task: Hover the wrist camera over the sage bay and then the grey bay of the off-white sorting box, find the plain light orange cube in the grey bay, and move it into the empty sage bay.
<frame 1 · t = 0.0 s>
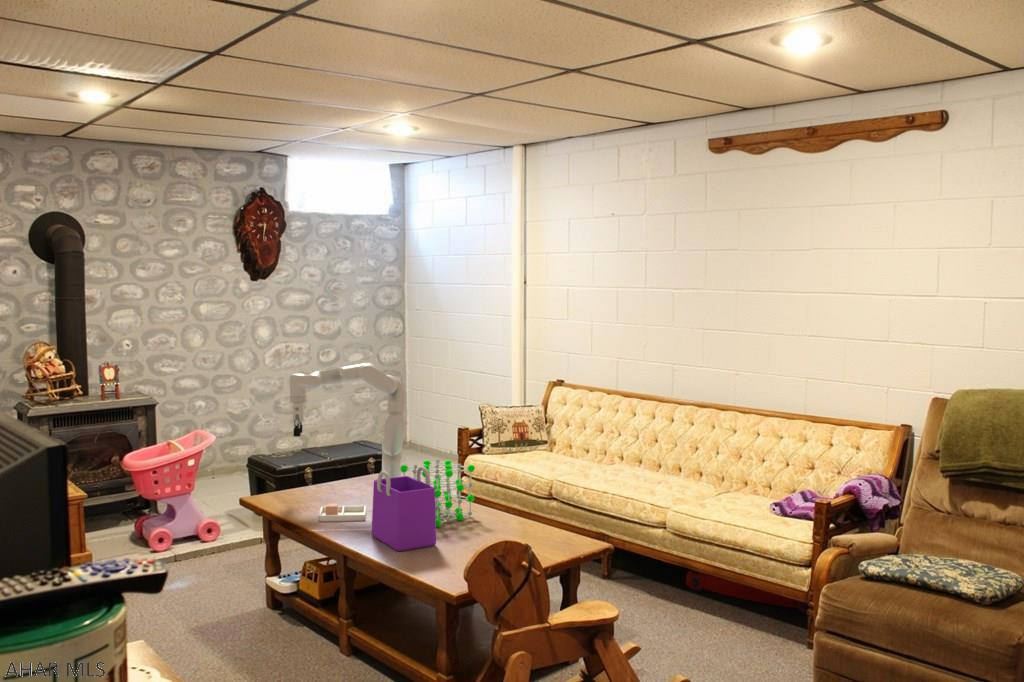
hand: (298, 434, 417), 31 cm above the table, fingers open, 9 cm apart
sorting box: (342, 517, 387), on the table
shopping bag: (403, 541, 353), on the table
molecular structure model: (437, 518, 389), on the table
plain light orange cube: (331, 516, 386), point 1 cm above the table, touching sorting box
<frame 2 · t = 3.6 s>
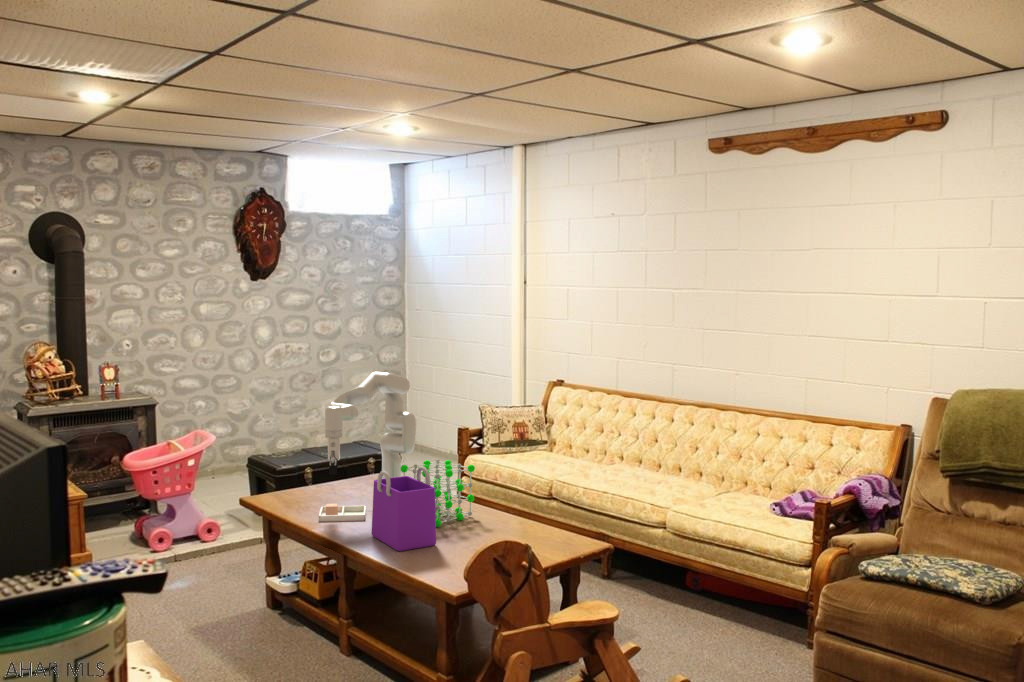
hand: (333, 471, 385), 21 cm above the table, fingers open, 9 cm apart
nothing on the table moved.
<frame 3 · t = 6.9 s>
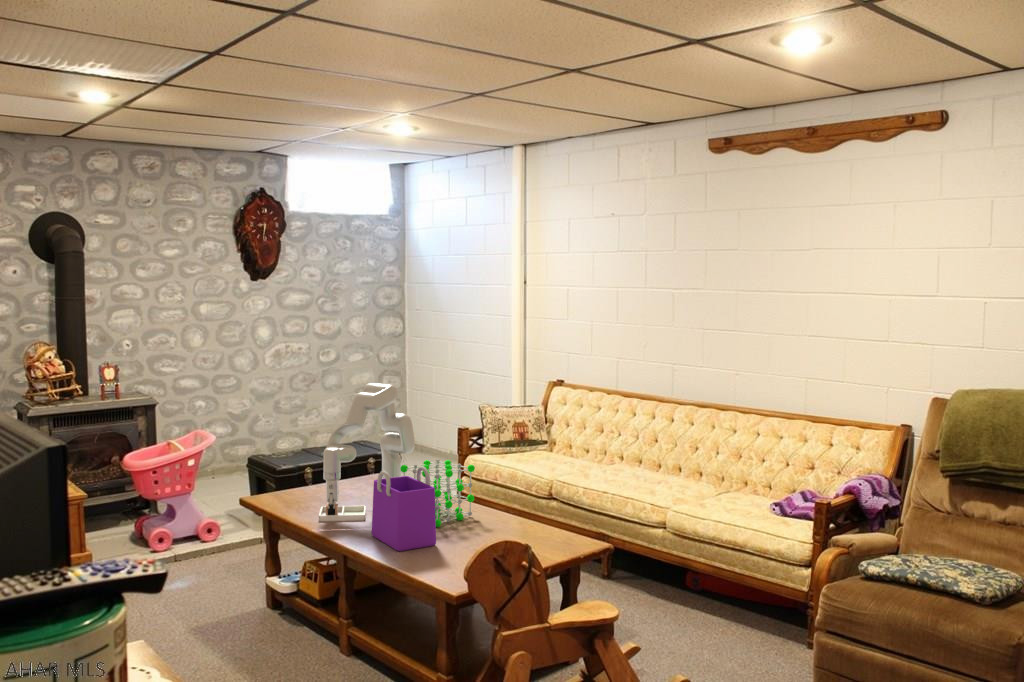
hand: (331, 515, 386), 1 cm above the table, fingers closed on plain light orange cube, 4 cm apart
plain light orange cube: (331, 516, 386), point 1 cm above the table, touching gripper, sorting box
everything else where it was.
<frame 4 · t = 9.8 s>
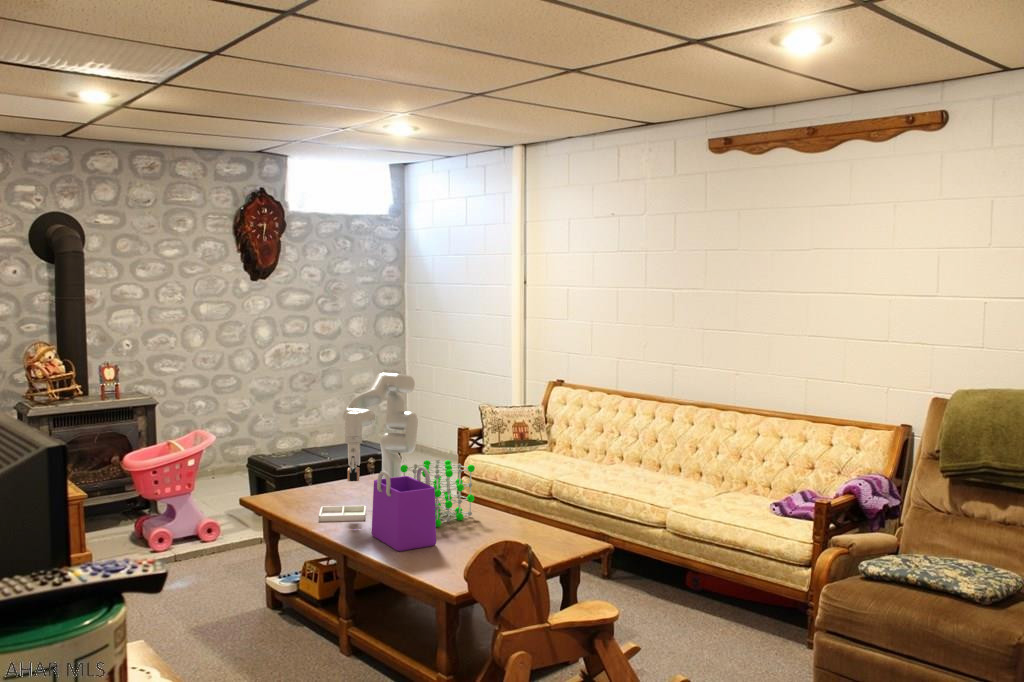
hand: (353, 479, 387), 17 cm above the table, fingers closed on plain light orange cube, 4 cm apart
plain light orange cube: (353, 480, 387), point 17 cm above the table, touching gripper
everything else where it was.
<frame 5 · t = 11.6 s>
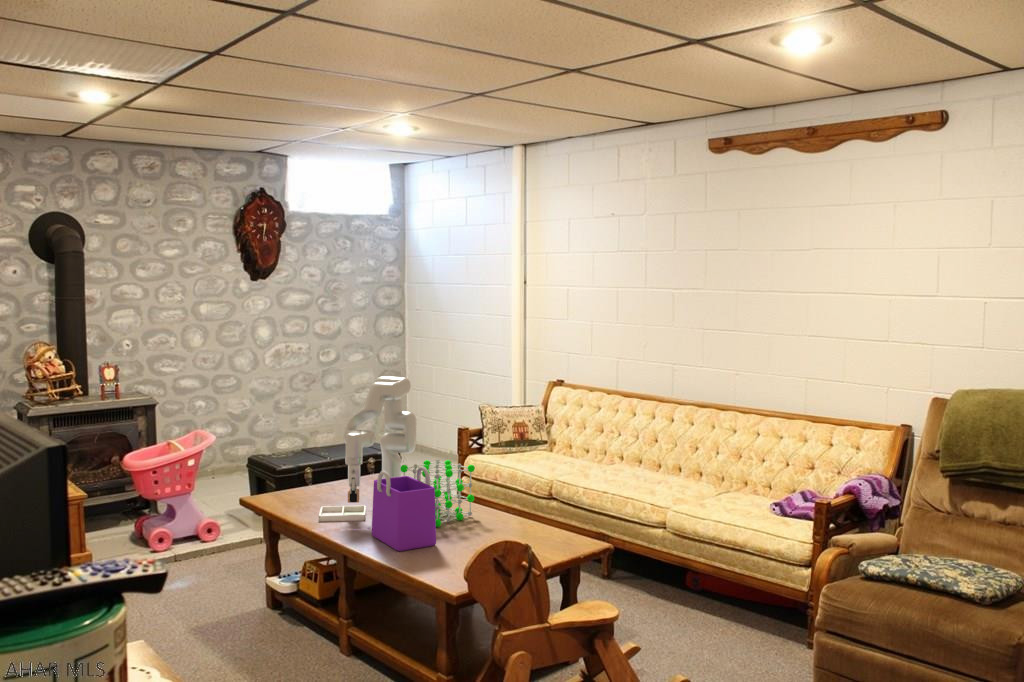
hand: (353, 500, 387), 8 cm above the table, fingers closed on plain light orange cube, 4 cm apart
plain light orange cube: (353, 501, 387), point 7 cm above the table, touching gripper
everything else where it was.
when the fingers open (3 cm above the table, at t = 13.0 s): plain light orange cube drops 2 cm, resting on sorting box.
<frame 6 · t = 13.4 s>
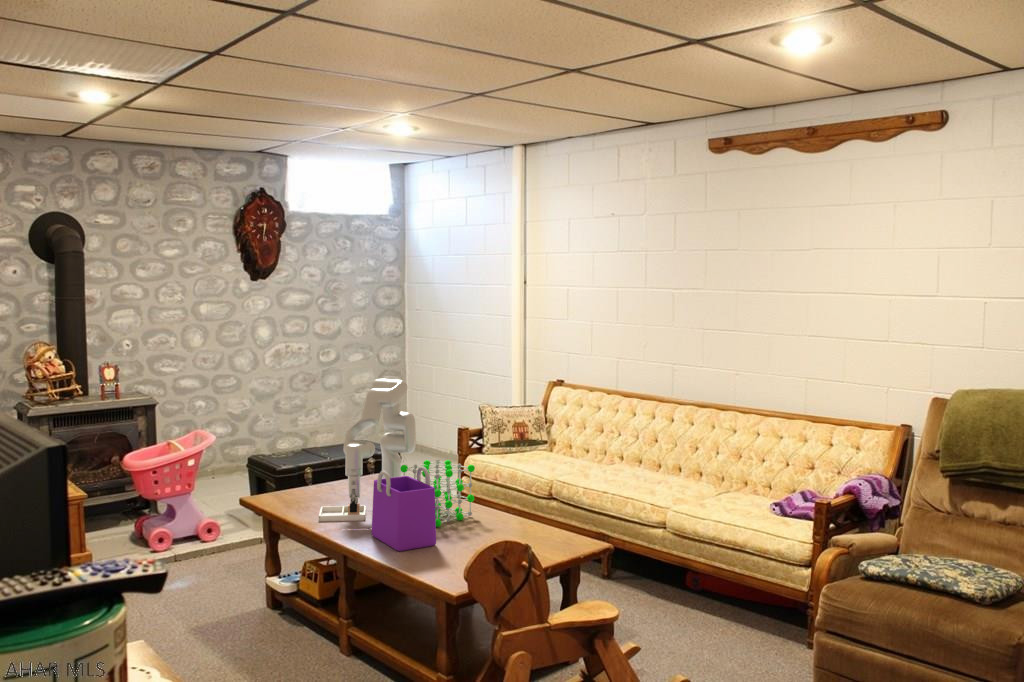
hand: (353, 509, 387), 3 cm above the table, fingers open, 9 cm apart
plain light orange cube: (353, 515, 388), point 1 cm above the table, touching sorting box
everything else where it was.
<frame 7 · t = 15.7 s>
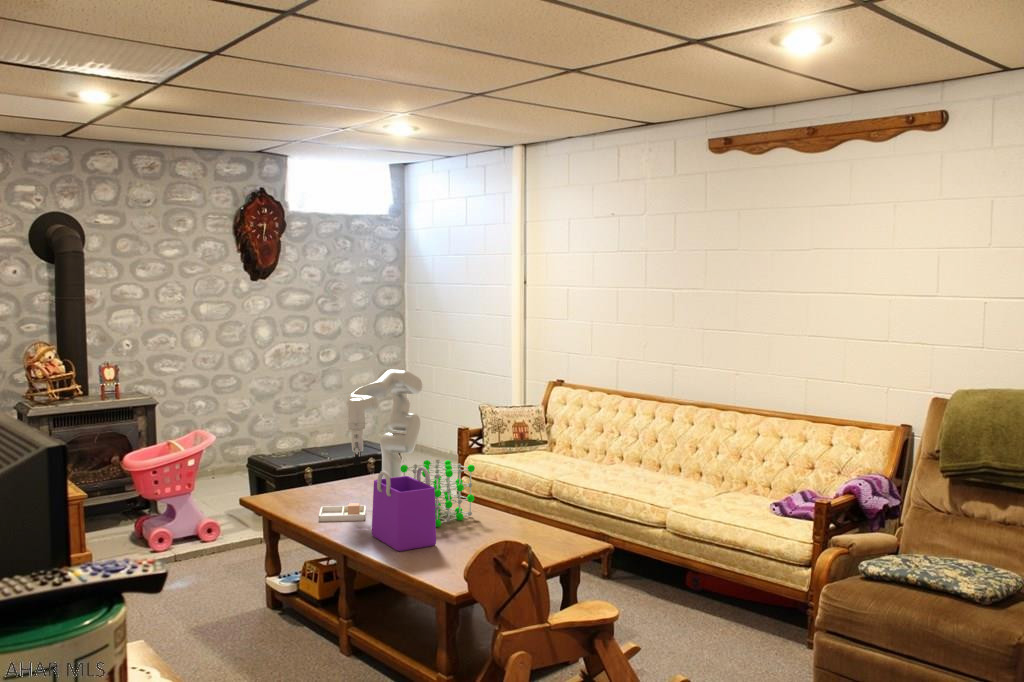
hand: (357, 462, 394), 23 cm above the table, fingers open, 9 cm apart
nothing on the table moved.
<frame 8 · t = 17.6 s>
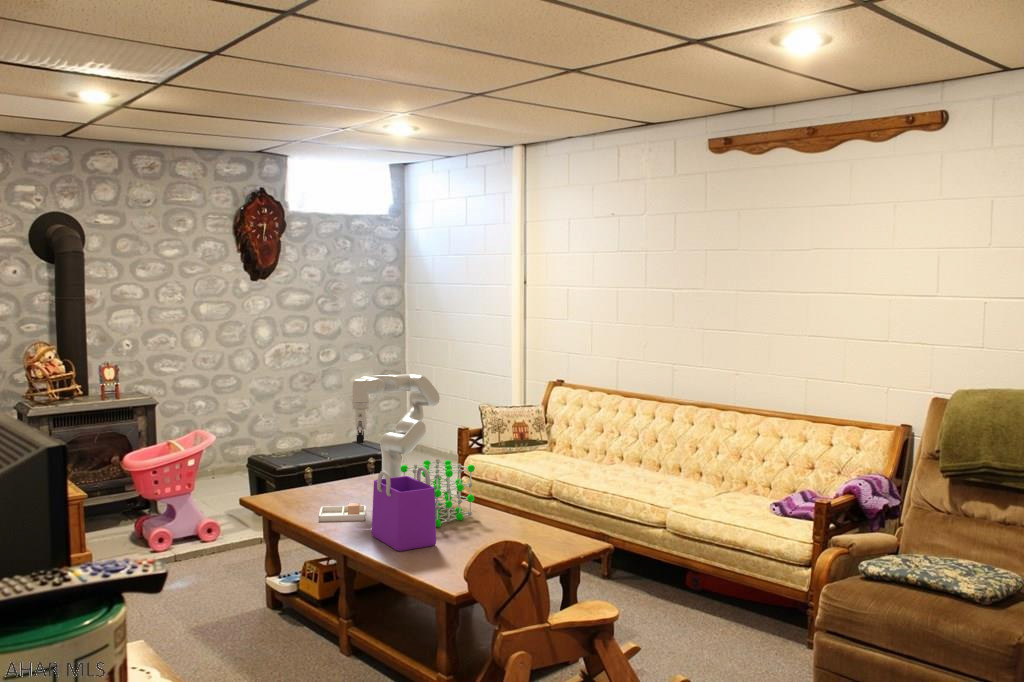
hand: (360, 441, 407), 30 cm above the table, fingers open, 9 cm apart
nothing on the table moved.
at the end: plain light orange cube inside the target area on the sorting box (0.1 cm from its centre), point 0.6 cm above the sorting box's base; plain light orange cube tilted 0°; the gripper is holding nothing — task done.
